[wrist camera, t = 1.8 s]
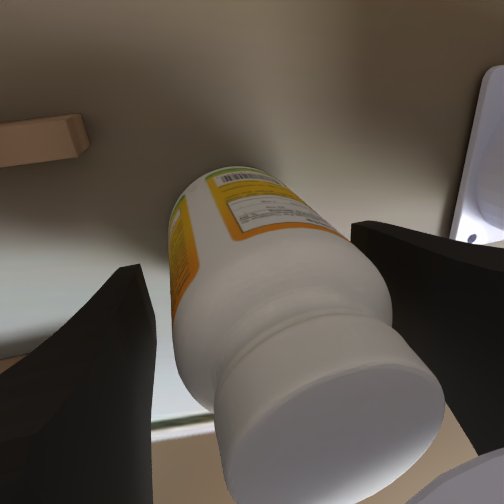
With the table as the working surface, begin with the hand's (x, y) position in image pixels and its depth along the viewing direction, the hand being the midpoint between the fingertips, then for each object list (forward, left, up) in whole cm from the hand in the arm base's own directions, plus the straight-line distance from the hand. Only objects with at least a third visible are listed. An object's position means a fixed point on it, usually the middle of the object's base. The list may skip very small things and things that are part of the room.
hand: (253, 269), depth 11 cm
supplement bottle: (0, 0, -4) cm, 4 cm away
